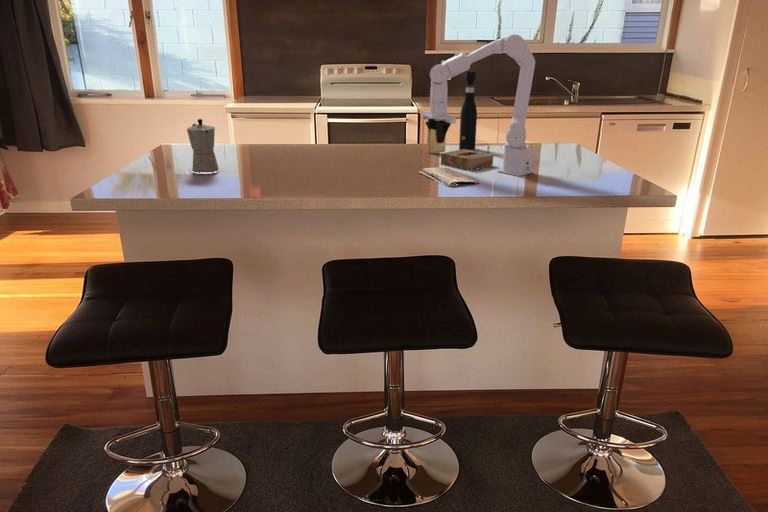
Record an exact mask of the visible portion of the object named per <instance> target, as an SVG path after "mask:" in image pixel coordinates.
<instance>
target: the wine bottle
mask: <svg viewBox="0 0 768 512" xmlns="http://www.w3.org/2000/svg"><path fill="white" fill-rule="evenodd" d="M476 77H477V73H476V71H465V78H464V79H465V82H466V87H465V92H464V101H463V103H462V106H461V111H460V118H459V119H460V120H459V121H460V122H459V123H460V125H459V146H458V150H461V149H467V150H472V151H476V140H477V139H476V137H477V121H478V120H477V118H478V110H477V104H476V99H475V88H474V87H475V85H474V83H475V81H476Z"/></svg>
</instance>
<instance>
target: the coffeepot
mask: <svg viewBox="0 0 768 512" xmlns="http://www.w3.org/2000/svg"><path fill="white" fill-rule="evenodd" d="M197 123H198V124H197ZM197 123H193V124H192V125H191V126H189V127H187V128H186V131H187V135H188V139H189V143H190V146H191V149H192V151H193V155H192V171H194V172H199V173H200V172H214V171H218V169H219V170H220V167H219V165H218V161H217V160H218V159H217V158H216V153H215V151H214V147H215V131H216V130H215V129H216V128H215V126H212V125H207V124H203V119H201V118H199V119H197Z"/></svg>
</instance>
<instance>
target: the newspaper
mask: <svg viewBox="0 0 768 512" xmlns="http://www.w3.org/2000/svg"><path fill="white" fill-rule="evenodd" d="M418 172H419V173H421V174H422V175H424V176H426V177H429V178H430V179H432V180H434V181H435V182H437V183H438V182H439V183H438V184H440V183H442V182H443V183H445V184H446V185H445V186H448V187H454V186H455V187H458V186H457V185H456V184H457V183H474V182H476V183H479V182H478V181H477V180H474V179H472V178H470V177H468V176H466V175H464V174H462V173H460V172H458V171H456V170H453V169H451V168H449V167H424V168H423V169H422V171H420V170H419V171H418ZM428 174H429V175H428ZM430 175H431V176H430ZM432 176H433V177H432ZM435 178H436V179H435ZM437 179H438V180H437ZM441 181H442V182H441ZM453 182H454V183H456V184H454V183H453ZM476 183H475V184H476Z"/></svg>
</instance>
